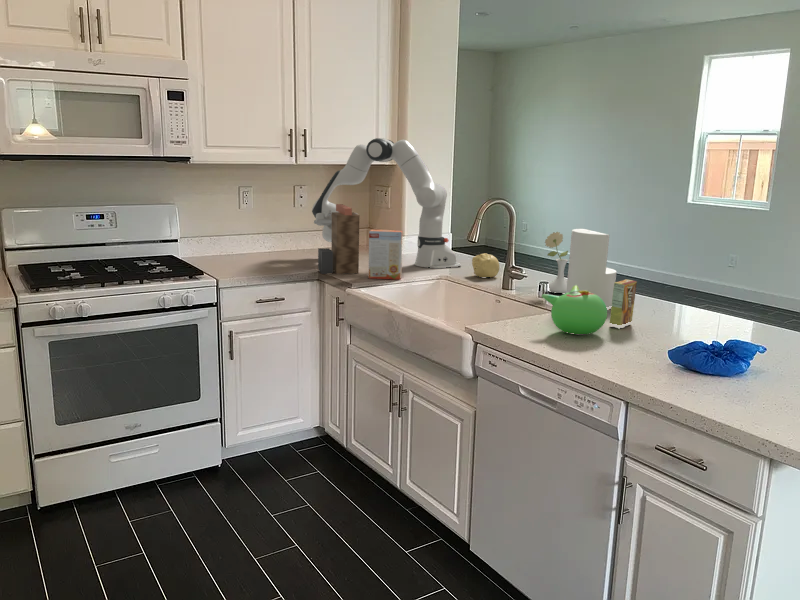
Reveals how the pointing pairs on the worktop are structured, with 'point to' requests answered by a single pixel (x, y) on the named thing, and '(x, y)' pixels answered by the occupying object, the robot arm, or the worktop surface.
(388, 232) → the cracker box
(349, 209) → the bar
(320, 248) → the domino
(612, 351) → the worktop surface
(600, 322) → the round teapot
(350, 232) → the walnut stand
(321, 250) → the domino
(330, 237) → the robot arm
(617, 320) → the candy box
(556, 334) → the worktop surface
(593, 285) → the cylinder
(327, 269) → the domino
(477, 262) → the pale yellow lumpy ball
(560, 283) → the flower in vase
